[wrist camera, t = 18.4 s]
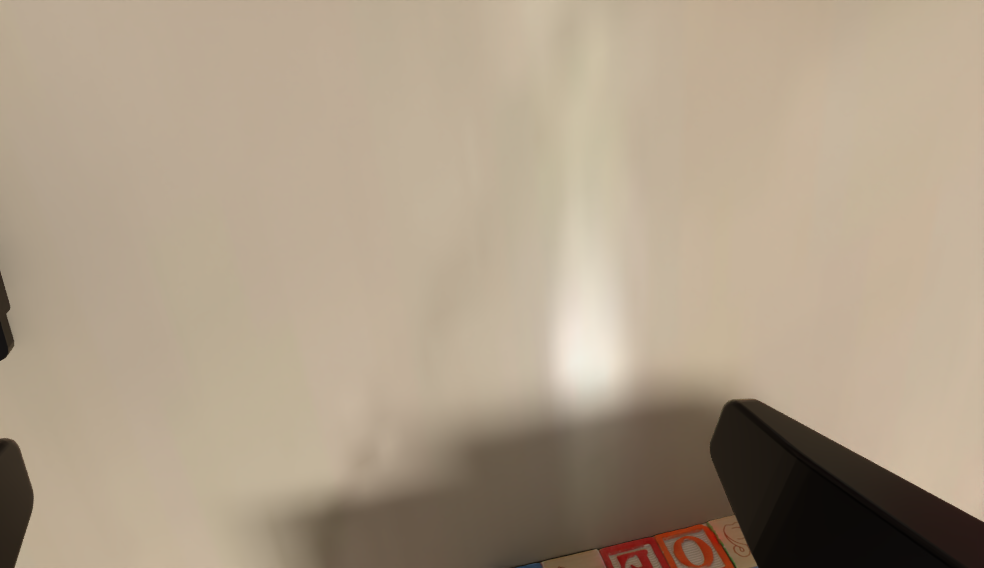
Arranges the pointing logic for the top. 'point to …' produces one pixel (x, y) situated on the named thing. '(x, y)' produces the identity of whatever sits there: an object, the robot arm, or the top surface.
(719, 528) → the stack of blocks
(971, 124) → the top surface
